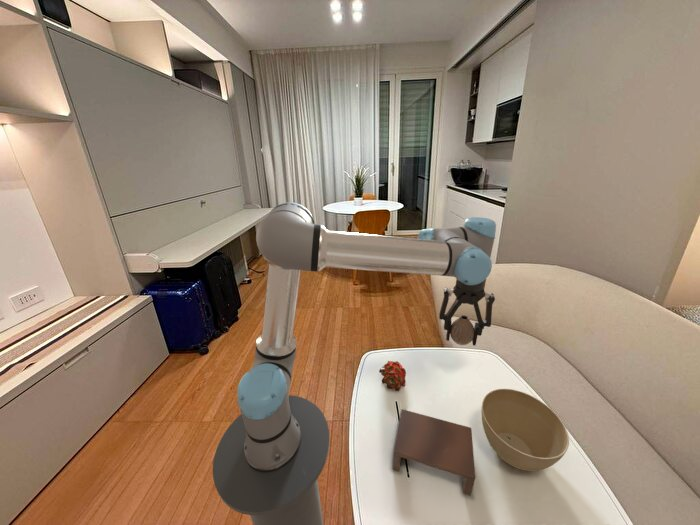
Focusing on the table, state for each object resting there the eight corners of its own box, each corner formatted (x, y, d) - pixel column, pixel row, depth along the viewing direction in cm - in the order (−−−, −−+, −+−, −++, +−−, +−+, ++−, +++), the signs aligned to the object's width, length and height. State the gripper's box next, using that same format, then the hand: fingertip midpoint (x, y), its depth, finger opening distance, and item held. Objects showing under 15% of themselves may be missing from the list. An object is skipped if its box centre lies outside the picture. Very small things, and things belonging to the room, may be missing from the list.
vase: (444, 340, 83) (448, 317, 80) (455, 331, 87) (459, 308, 84) (466, 351, 78) (470, 327, 75) (476, 341, 83) (481, 317, 79)
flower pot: (460, 432, 74) (466, 401, 70) (508, 410, 80) (516, 380, 75) (518, 506, 59) (531, 472, 54) (572, 472, 65) (588, 439, 60)
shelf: (392, 469, 66) (393, 451, 64) (400, 425, 77) (401, 408, 74) (470, 496, 61) (475, 477, 58) (467, 445, 71) (471, 427, 68)
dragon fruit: (394, 402, 86) (388, 378, 97) (416, 388, 85) (407, 365, 96) (378, 385, 84) (374, 362, 96) (400, 370, 83) (393, 349, 94)
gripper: (509, 272, 74) (493, 338, 83) (435, 264, 80) (428, 327, 89) (515, 284, 68) (497, 354, 77) (434, 275, 74) (426, 341, 83)
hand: (460, 340), depth 83 cm, fingers closed on vase, 7 cm apart
